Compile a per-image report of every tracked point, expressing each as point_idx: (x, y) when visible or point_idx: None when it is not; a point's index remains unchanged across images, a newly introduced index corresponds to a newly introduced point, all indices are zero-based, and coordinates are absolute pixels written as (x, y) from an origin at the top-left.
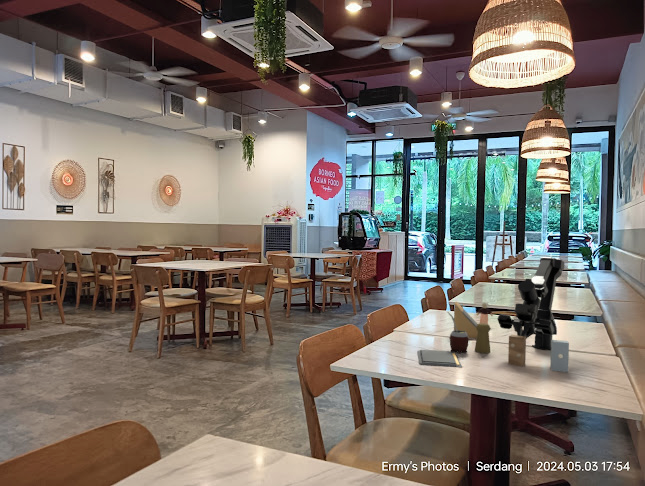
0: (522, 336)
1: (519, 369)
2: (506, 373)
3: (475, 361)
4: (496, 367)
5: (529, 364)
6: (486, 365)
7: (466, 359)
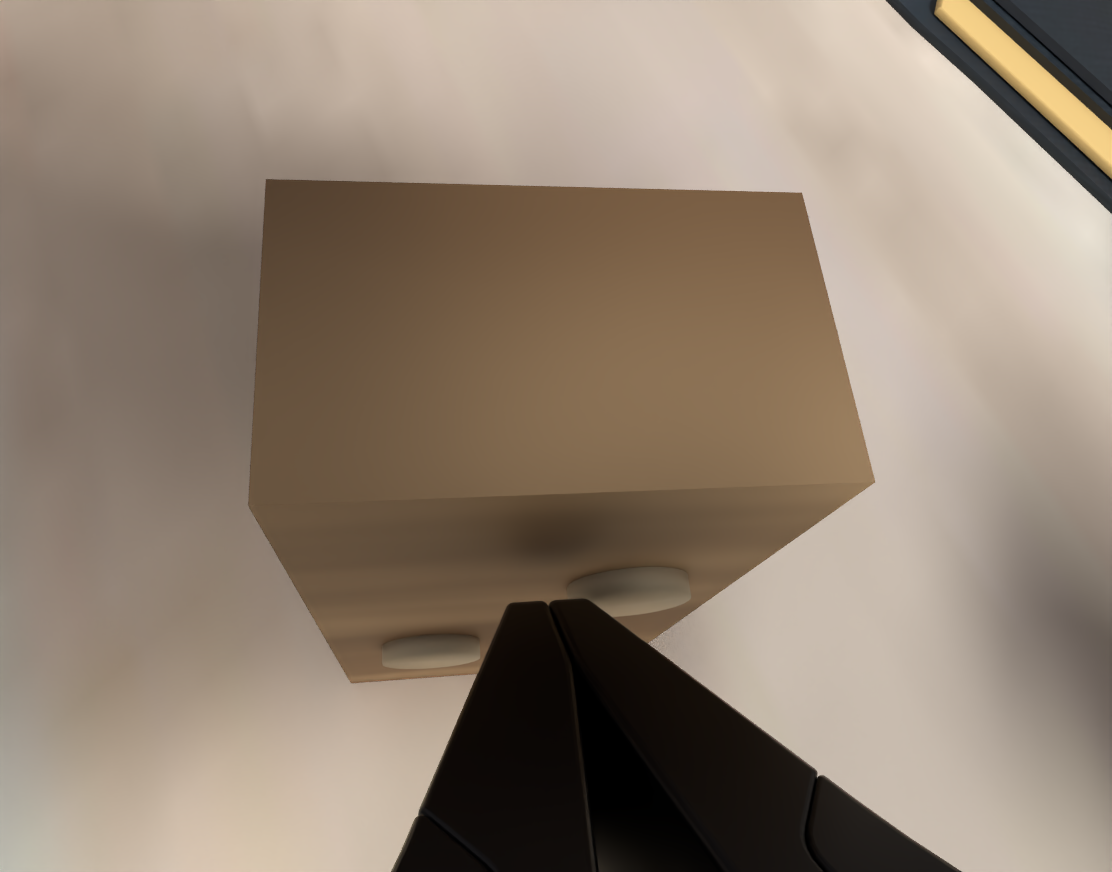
0: (404, 464)
1: None
2: (404, 51)
3: (961, 291)
4: None
5: (290, 768)
6: None
7: (1090, 302)
